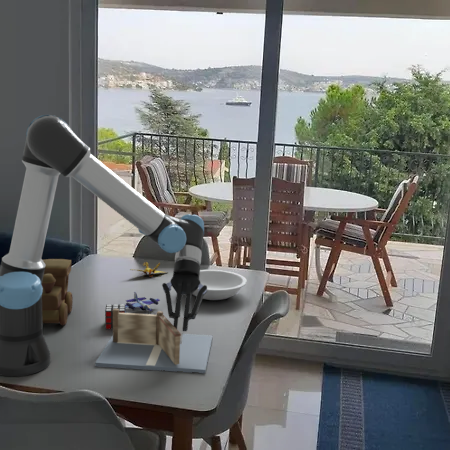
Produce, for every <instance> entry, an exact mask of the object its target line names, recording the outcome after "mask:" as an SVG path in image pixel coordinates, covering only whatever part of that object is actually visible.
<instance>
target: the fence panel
mask: <svg viewBox="0 0 450 450" xmlns="http://www.w3.org/2000/svg"><path fill="white" fill-rule="evenodd" d="M173 325H174V324H173V323H172V322H171V321H170V320H169V319H168V318H167V317H166V316H165V315H164V314H163V315H160V316H159V345H160V346H161V348H162V349H163V350H164V351H165V353H166V354H167V355H168V356H169V358H170V359H171V360H172V362H173V363H174V364H175V365H176V364H179V358H180V336H181V333H180V332H179V331H178V330H177V329H176V328H175V327H174V326H173Z"/></svg>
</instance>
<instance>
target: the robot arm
mask: <svg viewBox="0 0 450 450" xmlns="http://www.w3.org/2000/svg"><path fill="white" fill-rule="evenodd" d="M25 138H26V139H25V142H24V143H25V144H24V148H23V152H22V157H21V162H22V164H24V166H25V174H24V178H23V183H22V189H21V193H20V199H19V203H18V208H17V212H16V217H15V221H14V222H15V223H14V227H13V232H12V237H11V243H10V247H9V251H8V253H6V254H5V255H4V256H3V257H1V262H0V376H2V377H23V376H24V377H25V376H29V375H32V374H36V373H39V372H41V371H43V370H45V369H46V368H48V366H50V364H51V351H50V349H49V346H48V344H47V341H46V339H45V336H44V331H43V330H44V329H43V325H44V323H43V320H42V291H43V289H42V280H43V275H44V271H45V266H46V265H45V263H44V262H43V260H44V259H42V257H43V252H44V247H45V242H46V238H47V237H46V236H47V232H48V229H49V224H50V219H51V214H52V209H53V205H54V200H55V196H56V190H57V186H58V181H59V176H60V175H62V176H63V177H65V178H73V179H74V180H75V181H76V182H78V183H79V184H81V185H82V186H83V187H84V188H85V189H87V190H88V191H90V193H92V194H93V195H95V196H96V197H97V198H98V199H99V200H101V201H102V202H103V203H104V204H106V205H107V206H109V208H111V209H112V210H114V211H115V212H116V213H118V214H119V215H120V216H122V217H123V219H125V220H127V222H129V224H131V225H133V226H135V227H136V229H138V232H139V233H140V234H143V235H144V236H146V237H148V238H149V239H150V240H151V241H153V243H156V244H157V245H158V246H159V248H160V249H162V251H164V252H166V253H169V254H175V256H174V265H173V272H172V273H173V274H172V277H171V279H170V281H169V282H167V283H166V282H164V283H162V285H161V286H162V290H163V292H164V294H165V299H166V301H165V302H166V307H167V314H168V317H169V318H170V319H173V324H172V325H173V326H174V327H175V328H176V329H177V330H178V331H179V332H180V333H181V336H180V344H182V338H183V334H184V332H188V327H189V321H190V320H195V319H196V317H197V314H198V311H199V309H200V306H201V303H202V301H203V299H202V298H203V296H204V295H205V294H206V293H207V286H206V285H204V286H203V285H202V284H201V283H200V280H199V275H200V270H201V263H202V252H203V251H202V250H203V243H204V235H205V221H204V220H203V218H202V217H200V216H199V215H197V214H190V213H189V214H183V216H181V217H180V218H177V217H174V216H171V215H168V214H166V213H164V212H163V211H162V210H160V209H159V208H158V207H156V205H154V204H153V203H152V202H151V201H149V200H148V199H147V198H146V197H144V196H143V194H141V193H140V192H138V191H137V190H136V189H134V188H133V187H132V186H131V185H130V184H128V183H127V182H126V181H125V180H124V179H123V178H121V177H120V176H118V174H117V173H115V172H113V171H112V170H111V169H110V168H109V167H108V166H106V165H105V163H103V162H101V161H100V160H99V159H98V158H96V156H94V155H93V154H92V153H91V147H90V146H88V145H87V144H86V143H85V142H83V140H82V139H81V138H79V136H78V135H77V134H76V133H75V132H74V131H73V130H72V127H71V126H70V125H69V124H68V123H67V122H66V121H65V120H64V119H63V118H61V116H60V117H59V116H56V115H51V114H42V115H39V116H38V117H36V118H34V119H33V120H32V121H31V122H30V123H29V124H28V126H27V129H26V132H25ZM198 287H199V289H198V291H199V292H198V295H197V297H196V296H195V297H196V298H195V300H194V304H193V306H192V309H191V302H192V301H191V300H192V295H193V293H194V292H195V291H196V290H197V288H198ZM172 288H173V289H174V291H175V293H176V299H175V306H174V307H175V308H174V311H173V305H172V304H173V303H172V297H171V293H170V292H171V290H172ZM183 295H184V296H185V301H184V309H183V311H184V312H183V317H181V308H182V301H183Z"/></svg>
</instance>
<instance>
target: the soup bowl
mask: <svg viewBox="0 0 450 450" xmlns="http://www.w3.org/2000/svg"><path fill="white" fill-rule="evenodd" d="M199 280H200V283H201V284H202V285H203V286H204V285H206V286H207V293H206V294H205V295H204V296H203V298H202V300H207V301H208V300H209V301H220V300H221V301H222V300H226V299H229V298H232V297H233V296H235V295H236V294H237V293H239V291H240V290H241V289H242V288H243V287H245V286H246V285H247V283H248V281H247V278H246V277H245V276H243V275H242V274H239V273H237V272H233V271H229V270H221V269H200V275H199ZM198 289H199V287H198V288H197V290H196V291H195V292H194V293H193V294H192V295H193V296H194V297H197V295H198V292H199V291H198Z"/></svg>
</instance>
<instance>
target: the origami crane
mask: <svg viewBox="0 0 450 450" xmlns="http://www.w3.org/2000/svg"><path fill="white" fill-rule="evenodd" d="M160 265H161V262H158V263H157V264H156V265H155V266H154V268H151V267H149V266H150V265H149V262H147V261H145V262H143V263H142V266H143V267H145V268H144V269H132V268H130V269H129V271H137V272H142V273H143V275H144V276H148V275H149V277H151V278H153V276H154V275H155V274H157V273H158V274H159V273H164V274H165V273H166V271H161V270H158V268H159V266H160ZM151 274H152V275H151Z"/></svg>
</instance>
